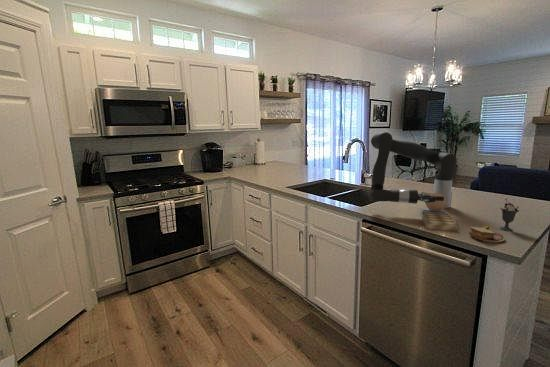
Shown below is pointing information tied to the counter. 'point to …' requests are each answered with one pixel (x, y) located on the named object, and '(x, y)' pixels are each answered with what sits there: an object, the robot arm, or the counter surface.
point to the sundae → (508, 215)
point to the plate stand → (433, 212)
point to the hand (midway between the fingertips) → (443, 198)
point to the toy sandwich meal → (486, 234)
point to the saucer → (436, 203)
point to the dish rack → (439, 221)
